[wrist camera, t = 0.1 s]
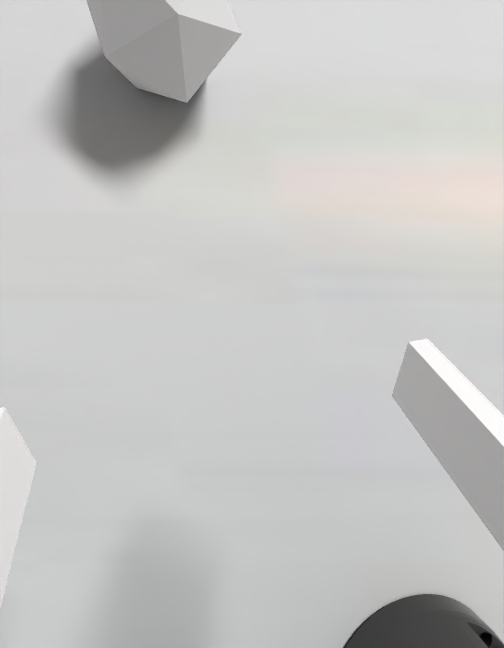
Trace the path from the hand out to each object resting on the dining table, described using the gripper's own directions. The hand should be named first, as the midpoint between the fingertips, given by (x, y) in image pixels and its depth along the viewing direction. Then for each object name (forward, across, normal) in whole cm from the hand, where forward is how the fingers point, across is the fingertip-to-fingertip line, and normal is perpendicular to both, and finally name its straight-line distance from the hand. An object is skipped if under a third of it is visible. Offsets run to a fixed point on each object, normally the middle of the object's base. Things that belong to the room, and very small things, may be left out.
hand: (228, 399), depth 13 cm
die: (+26, 0, -9) cm, 27 cm away
